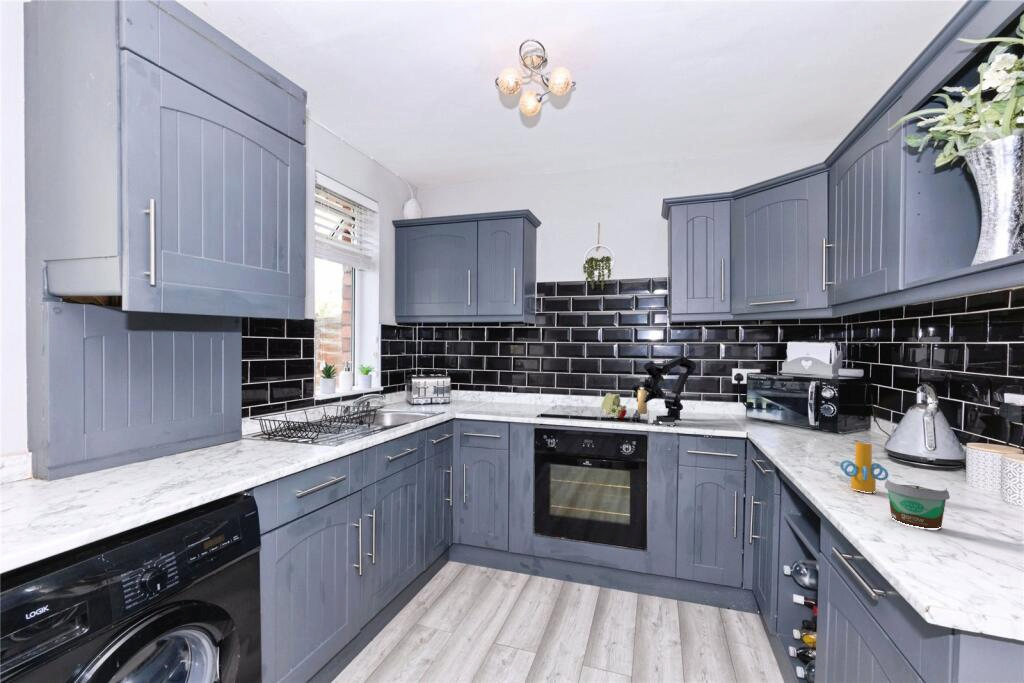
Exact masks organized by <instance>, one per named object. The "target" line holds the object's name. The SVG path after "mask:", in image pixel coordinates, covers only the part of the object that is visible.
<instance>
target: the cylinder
mask: <svg viewBox="0 0 1024 683" xmlns="http://www.w3.org/2000/svg"><path fill="white" fill-rule="evenodd" d="M854 444H855V446H854V462H853V461H851V460H849V459H844V460H842V461H841V462H840V463H839V468H840V470H841V471H842V472H844V474H845V475H846V476H847V477H850V489H851V488H853V489H856V490H860V491H865V492H874V491H875V490H876V485H877V482H876V480H878V481H887V479H888V478H889V472H888V469H886V468H885V467H883V466H882V465H881V464H880V463H876V462H875V463H873V462H872V461H873V454H872V453H873V444H872V442H867V441H859V440H857V441H855V443H854ZM845 463H847V464H845ZM844 464H845V465H844ZM849 467H852V469H851V470H850V471H849V470H848V468H849ZM877 469H878V470H879V471H878V473H876V474H875V470H877ZM883 473H884V476H883V477H880V476H881V475H882V474H883ZM875 492H876V491H875Z"/></svg>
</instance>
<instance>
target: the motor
mask: <svg viewBox="0 0 1024 683" xmlns="http://www.w3.org/2000/svg"><path fill="white" fill-rule="evenodd" d="M655 418H656V419H653V420H652V425H653V424H655V425H654V426H660V425H673V424H675V425H676V420H675V417H671V416H668V415H667V414H666V415H665V414H663V415H661V414H660V415H656V417H655Z"/></svg>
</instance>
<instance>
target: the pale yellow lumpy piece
mask: <svg viewBox="0 0 1024 683" xmlns="http://www.w3.org/2000/svg"><path fill="white" fill-rule="evenodd" d="M620 397H621V394H619V393H616V394H615V393H611V392H608V393H607V392H606V394H605V396H604V397H603V399H602V400H603V401H602V402H601V405H600V407H601V411H600V413H599V415H601V414H602V412H603V410H604V413H605V415H606V416H607V415H608V416H610V415H612V416H614V417H613V418H614V419H615V418H618V419H619V418H620V419H621V418H623V419H624V418H625V417H626V415H627V406H626V405H621V398H620Z"/></svg>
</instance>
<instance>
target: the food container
mask: <svg viewBox="0 0 1024 683" xmlns="http://www.w3.org/2000/svg"><path fill="white" fill-rule="evenodd" d="M883 487H884V488H885V489H886V490H887V491H888V502H889V509H890V517H891V516H892V518H894V519H895V520H897V521H900V522H902V523H905V524H909V525H913V526H919V527H924V528H939V527H941V526H942V527H943V520H944V518H943V517H944V513H945V507H946V502H947V500H950V499H951V497H950V493H949V492H950V491H949V490H948V488H945V490H936V489H931V488H927V487H923V486H920V485H914V484H910V485H909V484H899V483H895V482H893V481H890V480H889V479H888V478H887V479H886V480H885V483H884V486H883ZM892 518H891V519H892ZM942 527H941V528H942Z"/></svg>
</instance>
